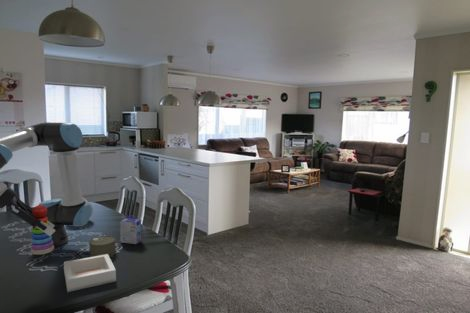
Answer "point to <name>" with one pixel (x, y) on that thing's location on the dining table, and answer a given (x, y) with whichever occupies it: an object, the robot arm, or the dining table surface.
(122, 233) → the ink cartridge box
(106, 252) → the can
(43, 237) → the stacking toy
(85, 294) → the dining table surface
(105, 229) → the dining table surface
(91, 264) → the walled box
